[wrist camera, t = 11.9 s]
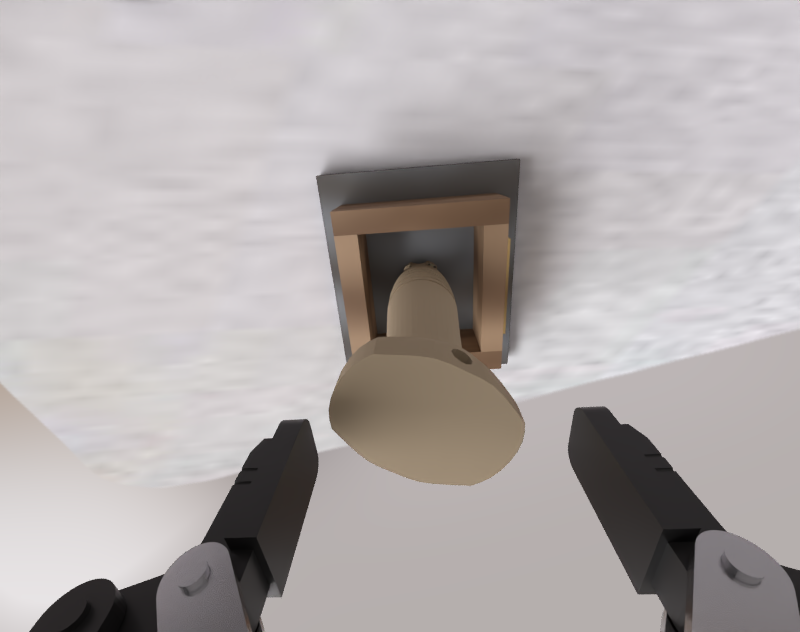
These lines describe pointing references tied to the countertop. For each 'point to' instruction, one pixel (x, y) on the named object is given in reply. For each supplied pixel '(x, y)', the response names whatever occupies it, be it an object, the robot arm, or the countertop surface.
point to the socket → (424, 245)
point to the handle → (425, 393)
